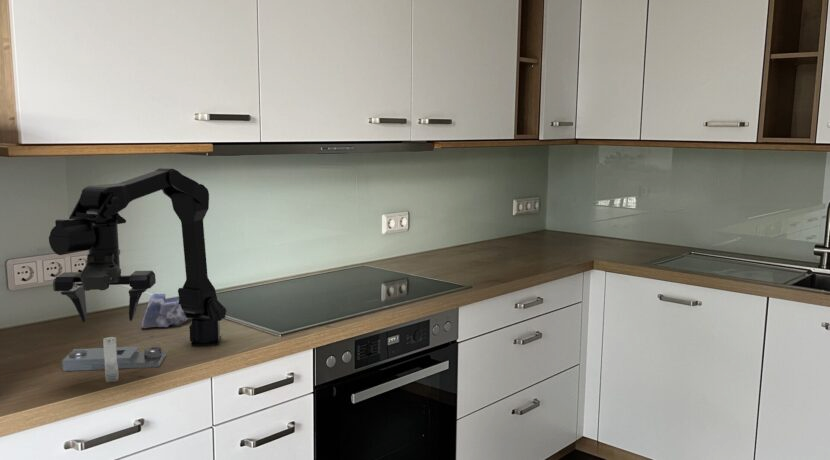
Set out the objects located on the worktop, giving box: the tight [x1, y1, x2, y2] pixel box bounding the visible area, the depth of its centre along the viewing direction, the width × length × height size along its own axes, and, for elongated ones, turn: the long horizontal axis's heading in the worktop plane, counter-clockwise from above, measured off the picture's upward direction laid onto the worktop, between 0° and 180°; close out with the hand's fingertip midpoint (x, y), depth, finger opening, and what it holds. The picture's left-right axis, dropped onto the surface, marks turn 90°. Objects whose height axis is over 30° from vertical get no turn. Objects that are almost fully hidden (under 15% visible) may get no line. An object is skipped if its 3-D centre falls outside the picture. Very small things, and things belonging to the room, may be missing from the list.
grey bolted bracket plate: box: [61, 346, 167, 372], centre depth 157 cm, size 20×8×3 cm, turn 99°
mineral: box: [141, 293, 190, 329], centre depth 188 cm, size 14×10×10 cm
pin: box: [102, 336, 119, 383], centre depth 146 cm, size 2×2×9 cm
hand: (108, 321), depth 145 cm, fingers open, 9 cm apart
